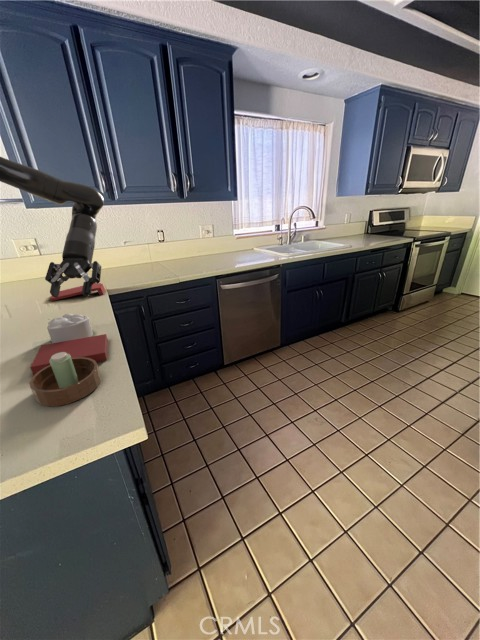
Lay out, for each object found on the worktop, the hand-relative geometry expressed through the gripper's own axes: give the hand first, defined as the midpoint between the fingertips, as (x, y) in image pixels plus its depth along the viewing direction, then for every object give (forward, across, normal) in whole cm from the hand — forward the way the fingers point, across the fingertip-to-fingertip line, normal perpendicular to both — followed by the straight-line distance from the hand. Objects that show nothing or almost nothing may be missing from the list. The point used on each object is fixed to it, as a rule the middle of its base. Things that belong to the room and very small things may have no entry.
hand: (69, 295), depth 74 cm
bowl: (+24, 0, +8) cm, 26 cm away
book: (+13, -8, +20) cm, 25 cm away
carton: (-32, -40, +65) cm, 83 cm away
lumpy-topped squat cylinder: (+4, -15, +29) cm, 33 cm away
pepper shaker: (+24, 0, +8) cm, 25 cm away
